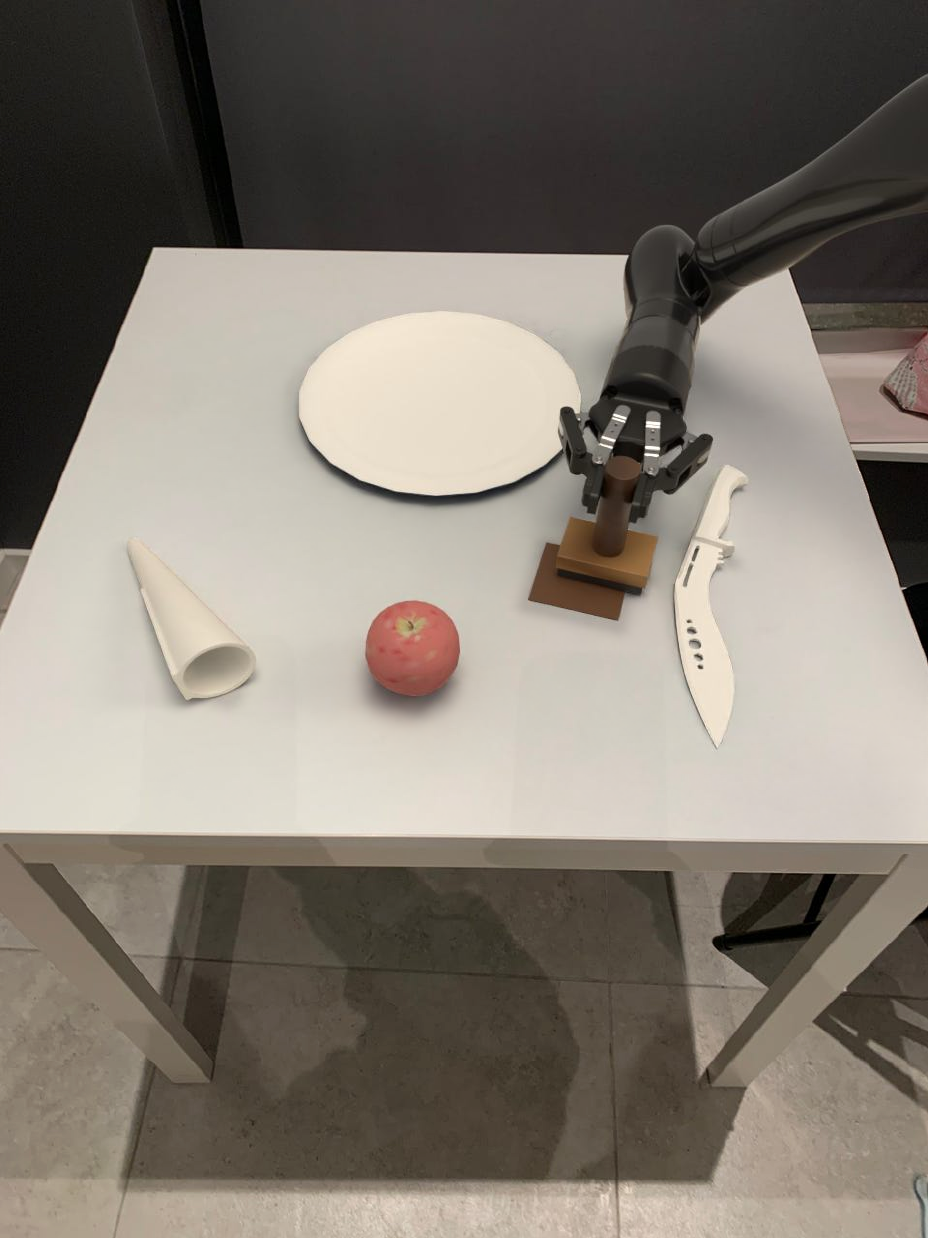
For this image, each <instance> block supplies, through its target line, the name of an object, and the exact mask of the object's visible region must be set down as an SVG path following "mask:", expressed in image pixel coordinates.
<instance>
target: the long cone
mask: <svg viewBox="0 0 928 1238" xmlns="http://www.w3.org/2000/svg"><path fill="white" fill-rule="evenodd" d="M126 544H127V545H126V547H127V552H128V556H129V558H130V560H131V563H132V565H133V569H134V571H135V574H136V577H137V579H138V582H139V585H140V587H141V589H140V593H141V595H142V598H143V601H144V604H145V607H146V609H147V612H148V615H149V618H150V621H151V624H152V626H153V629H154V631H155V634H156V635H155V636H156V637H157V640H158V643H159V647H160V649H161V650H162V654H163V657H164V660H165V662H166V666H167V667H168V668H167V669H168V671H169V673H170V676H171V678H172V680H173V682H174V684H175V685H176V687H177V689H178V690H179V691H180V693H181V695H182V696H183V698H184V699H185V700H186V701H190V700H191V699H210V698H215V697H219V696H222V695H225V694H228V693H230V692H232V691H234V690H235V689H238V687H240V686H241V685H242V684H244V683H245V682H246V681H247V680H248V679H249V678H250V677H251V675H252V674H253V672H254V671H255V668H256V663H257V657H256V654H255V652H254V650H253V649H252V648H251V647H250V646H249V645H248V644H247V643H246V642H245V641H244V640H243V639H242V638H241V637H240V636H239V635H238V634H237V633H236V632H235V631H234V630H233V629H231V628H230V626H228V625H227V623H226V622H224V620H222V619H221V618H220V617H219V616H218V615H217V614H216V612H214V611H213V610H212V609H211V608H210V607H209V605H207V604H206V602H204V601H203V600H202V599H201V598H200V597H199V596H198V595H197V594H196V593H195V592H194V591H193V590H192V589H191V587H189V586H188V585H187V584H186V583H185V582H184V581H183V580H182V579H181V578H180V577H179V576H178V574H176V573H175V572H174V571H173V570H172V569H171V568H170V567H169V566H168V565H167V564H166V563H165V562H164V561H163V560H162V559H161V557H159V556H158V555H157V554H156V553H155V552H154V551H153V550H152V549H151V548H150V547H149V546H148V545H146V544H145V542H144V541H142V540H141V539H139V538H137V537H135V536H131V537H129V538H128V539H127V541H126Z"/></svg>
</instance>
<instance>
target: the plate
mask: <svg viewBox="0 0 928 1238" xmlns="http://www.w3.org/2000/svg"><path fill="white" fill-rule="evenodd" d="M566 406H568V407H571V408H573V409H574V412H575V413H581V406H582V393H581V391H580V387H579V384H578V380H577V377H576V374H575V372H574V371H573V370H572V368H571V367H570V366H569V364H568V362H567V361H566V360H565V358H564V357H563V356H562V355H561V354H560V352H559V351H557V350H556V349H555V348H554V347H552V346H551V345H549V344H548V343H547V342H546V341H544V340H543V339H542V338H541V337H540V336H538V335H537V334H534V333H532V332H530V331H528V330H527V329H524V328H522V327H520V326H518V325H515V324H513V323H511V322H509V321H505V320H501V319H498V318H494V317H490V316H485V315H483V314H478V313H469V312H461V311H460V312H458V311H448V310H438V311H437V310H436V311H423V312H422V311H421V312H409V313H408V312H407V313H405V314H401V315H396V316H392V317H387V318H382V319H378V320H376V321H373V322H371V323H369V324H366V325H364V326H361V327H359V328H357V329H354V330H351V331H349V332H347V333H346V334H345V335H343V336H342V337H340V338H339V339H338V340H337V341H335V342H333V343H332V344H331V345H329V346H328V347H327V348H325V349H324V350H323V351H322V352H321V354H319V356H318V357H317V358H316V359H315V360H314V362H313V363H312V364H311V366H310V367H308V369H307V371H306V373H305V376H304V378H303V381H302V383H301V386H300V388H299V391H298V416H299V417H298V419H299V421H300V422H301V425H302V427H303V430H304V432H305V434H306V436H307V439H308V441H309V443H310V444H311V445H312V446H313V447H314V448H315V450H316V451H317V452H318V453H320V455H321V456H322V458H324V459H325V460H326V461H327V462H328V463H329V464H330V465H332V466H333V467H335V468H337V469H338V470H340V471H342V472H343V473H345V474H346V475H348V476H350V477H352V478H353V479H355V480H357V481H358V482H361V483H364V484H366V485H367V484H368V485H370V486H374V487H376V488H379V489H383V490H385V491H389V492H393V493H396V494H405V495H413V496H422V497H423V496H424V497H433V498H441V497H451V496H452V497H454V496H465V495H466V496H467V495H477V494H481V493H484V492H488V491H492V490H494V489H498V488H499V489H500V488H501V487H506V486H509V485H512V484H515V483H517V482H518V481H520V480H522V479H524V478H526V477H528V476H530V475H532V474H534V473H535V472H538V471H539V470H541V469H542V468H544V467H545V466H547V465H548V464H549V463H550V462H551V461H552V460H553V459H554V458H556V456H557V455H558V454H559V453H560V452H562V451H563V448H562V445H561V442H560V439H559V435H558V425H559V416H560V409H561V408H562V407H566Z"/></svg>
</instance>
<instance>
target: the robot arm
mask: <svg viewBox="0 0 928 1238" xmlns="http://www.w3.org/2000/svg"><path fill="white" fill-rule="evenodd" d="M922 213H928V73H925V74H924V75H923V76H921V77H920V78H918V79H916V80H915V81H913V82H912V83H910V84H909V85H908V86H906V87H905V88H904V89H902V90H901V91H900V92H898V93H897V94H896V95H894V96H893V97H892V98H891V99H889V100H888V101H887V102H886V103H884V104H883V105H882V106H881V107H880V108H878V109H877V110H876V111H875V112H873V113H872V114H870V115H869V116H868V117H867V118H866V119H865V120H864V121H862V122H861V123H860V124H858V125H857V126H856V127H855V128H854V129H852V131H851V132H849V133H848V134H847V135H846V136H844V137H843V138H842V139H841V140H839V141H838V142H836V143H835V144H834V145H832V146H831V147H830V148H828V149H827V150H825V151H824V152H822V153H821V154H820V155H819V156H817V157H816V158H815V159H813V160H812V161H810V162H809V163H807V164H806V165H804V166H803V167H801V168H799V169H798V170H796V171H794V172H793V173H791V174H789V175H788V176H787V177H784V178H783V179H781V180H779V181H778V182H776V183H773V184H771V185H770V186H768V187H766V188H765V189H763V190H761V191H759V192H757V193H755V194H753V195H751V196H749V197H748V198H746V199H744V200H742V201H741V202H738V203H737V204H735V205H733V206H731V207H729V208H728V209H726V210H724V211H722V212H720V213H718V214H717V215H715V216H713V217H712V218H711V219H709V220H708V221H707V222H706V223H705V224H703V225H702V227H701V228H700V230H699V231H698V233H697V236H696V239H695V241H694V240H693V238H692V237H691V236H690V235H688V233H687V232H686V231H684V230H683V229H682V228H681V227H678V226H677V225H672V224H661V225H657V226H654V227H652V228H650V229H649V230H647V231H646V232H644V233H643V234H642V235H641V236H640V237H639V238H638V239H637V240H636V242H635V243H634V245H633V246H632V247H631V250H630V252H629V254H628V256H627V259H626V261H625V264H624V270H623V277H622V286H623V294H624V295H623V296H624V309H625V315H626V321H625V324H624V328H623V331H622V334H621V337H620V339H619V341H618V342H617V344H616V346H615V348H614V350H613V353H612V356H611V359H610V363H609V366H608V369H607V372H606V376H605V378H604V382H603V384H602V388H601V391H600V394H599V398H598V400H597V402H596V403H594V404H593V405H591V406H590V408H589V410H588V411H587V412H580V413H575V412H574V409H573V408H571V407H568V406H566V407H562V408H561V409H560V416H559V425H558V435H559V439H560V442H561V445H562V448H563V449H562V451H563V455H564V458H565V460H566V464H567V467H568V470H569V472H570V474H572V475H574V476H580V475H583V476H584V477H585V480H584V484H583V487H582V493H581V500H580V501H581V506H582V507H586V508H587V510H586V514H589V515H594V516H596V515H597V514H596V513H597V512H598V507H599V501H600V497H601V491H602V486H603V480H604V472H605V466H606V463H607V462H608V460H610V459H611V458H613V457H616V456H627V457H630V458H632V459H634V460H636V461H637V462H638V463H639V465H640V468H641V471H640V476H639V480H638V482H637V486H636V490H635V493H634V497H633V501H632V506H631V510H630V515H629V519H628V522H630V523H629V524H637V523H638V519H642V520H645V519H646V518H647V516H648V515H649V510H650V506H651V502H652V497H653V495H654V493H655V492H657V491H662V493H664V494H666V495H668V496H669V495H670V496H671V495H674V494H676V493H677V492H678V491H679V490H680V489H681V488H682V487H683V486H684V485H685V484H686V483H687V482H688V481H689V480H690V479H691V478H692V477H694V475H695V474H696V473H697V472H698V471H699V470H701V469H702V468H703V467H704V466H705V464H707V462H708V460H709V456H710V453H711V450H712V446H713V443H714V437H713V435H711V434H709V433H701V434H699V435H698V436H696V435H694V434H692V433H690V432H689V431H688V429H687V428H688V427H687V424H686V422H685V420H684V417H685V413H686V407H687V403H688V398H689V394H690V391H691V388H692V381H693V376H694V372H695V363H696V359H695V358H696V356H695V355H696V352H697V347H698V342H699V338H700V332H701V326H702V325H704V324H705V323H706V322H708V321H709V320H710V319H711V318H712V317H713V316H714V315H715V314H716V313H717V312H718V311H719V310H720V309H721V308H722V307H723V306H724V305H725V304H726V303H728V301H730V300H731V299H732V298H734V297H735V296H736V295H737V294H739V293H740V292H741V291H743V290H744V289H746V288H748V287H749V286H752V285H754V284H757V283H759V282H761V281H764V280H766V279H769V278H771V277H773V276H775V275H778V274H780V273H782V272H784V271H787V270H788V269H791V268H793V267H794V266H796V265H798V264H799V263H801V262H803V261H804V260H806V259H807V258H809V257H811V255H813V254H814V253H815V252H817V251H818V250H819V249H820V248H821V247H823V246H825V244H826V243H828V242H829V241H831V240H834V239H835V238H836V237H839V236H841V235H843V234H845V233H847V232H850V231H852V230H855V229H857V228H860V227H863V226H867V225H871V224H874V223H878V222H883V221H888V220H892V219H896V218H900V217H905V216H910V215H916V214H922ZM587 428H588V429H589V431H590V433H591V434H592V436H593V437H594V439H595V440H596V442H597V443H598V446H597V447H596V448H595V451H594V453H591V452H589V451H587V450H588V449H587V448H588V447H587V444H586V442H585V439H584V434H585V430H586V429H587ZM679 447H681V450H680V453H679V454H678V455H676V456H675V458H674V459H672V460H671V462H669V464H667V466H666V467H660V458H662V457H663V456H665V455H667V454H669V453H670V452H672V451H673V450H676V449H677V448H679Z"/></svg>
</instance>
